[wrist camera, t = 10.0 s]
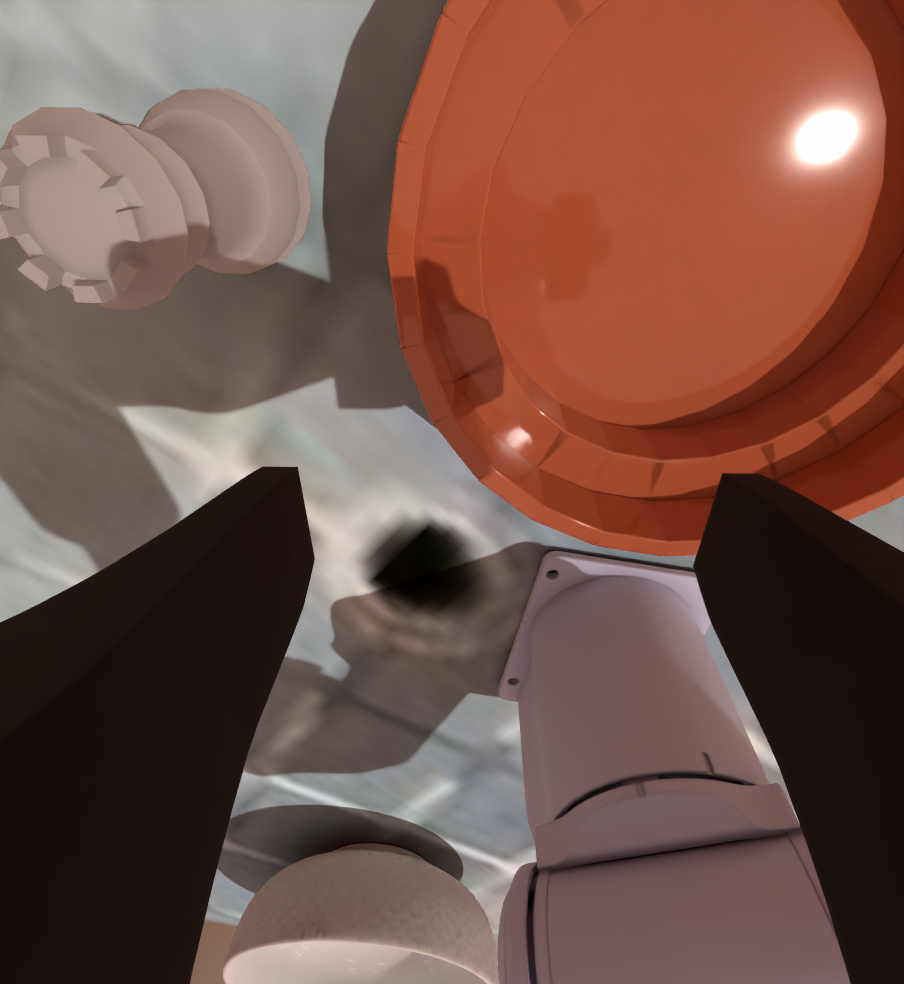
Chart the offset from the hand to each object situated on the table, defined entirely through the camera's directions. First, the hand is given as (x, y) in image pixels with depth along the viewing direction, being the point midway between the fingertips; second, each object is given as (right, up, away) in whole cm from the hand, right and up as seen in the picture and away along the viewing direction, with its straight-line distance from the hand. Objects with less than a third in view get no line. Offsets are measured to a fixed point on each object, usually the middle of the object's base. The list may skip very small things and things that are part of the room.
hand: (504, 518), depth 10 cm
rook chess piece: (-7, +9, +6) cm, 13 cm away
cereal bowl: (-6, -26, +30) cm, 40 cm away
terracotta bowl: (+6, +8, +6) cm, 12 cm away
